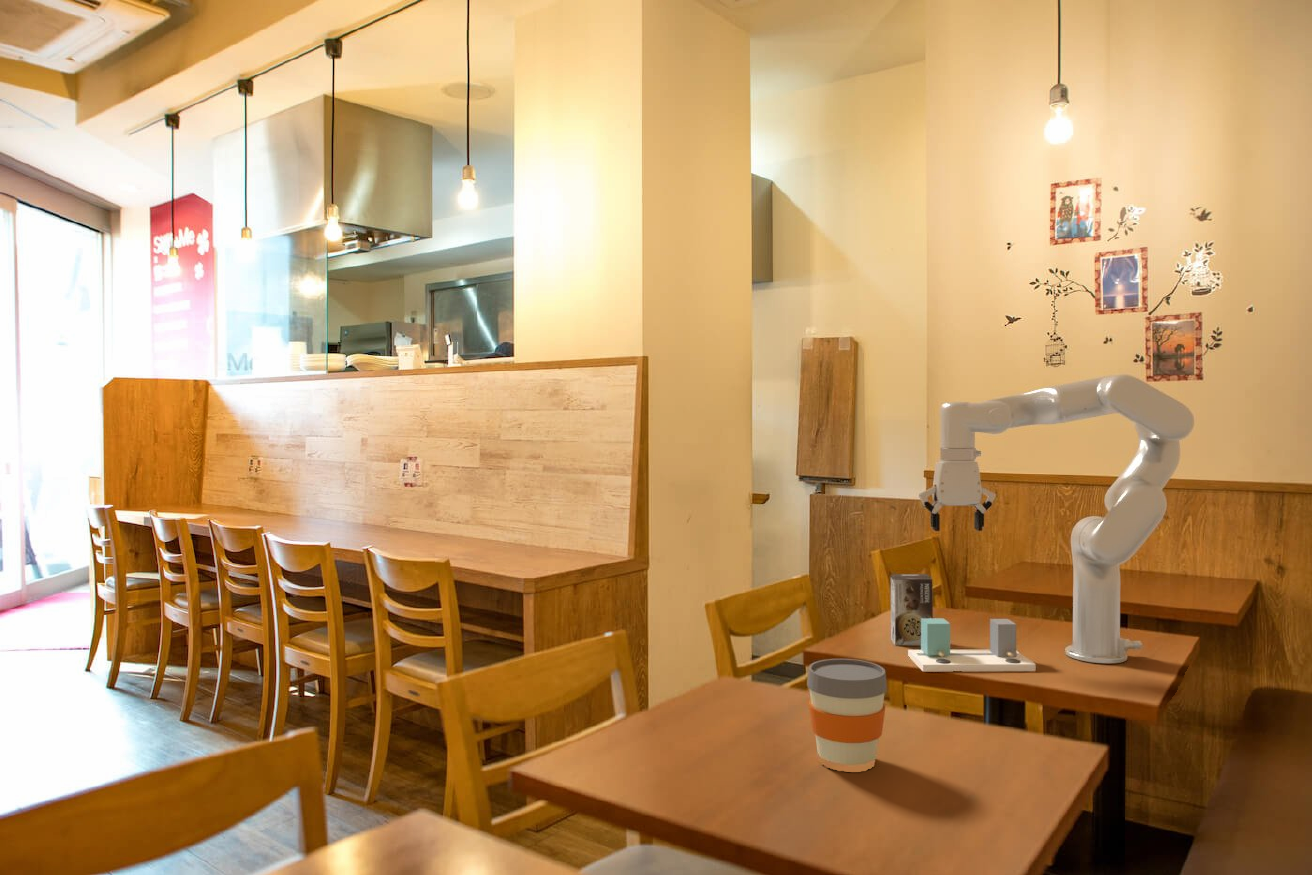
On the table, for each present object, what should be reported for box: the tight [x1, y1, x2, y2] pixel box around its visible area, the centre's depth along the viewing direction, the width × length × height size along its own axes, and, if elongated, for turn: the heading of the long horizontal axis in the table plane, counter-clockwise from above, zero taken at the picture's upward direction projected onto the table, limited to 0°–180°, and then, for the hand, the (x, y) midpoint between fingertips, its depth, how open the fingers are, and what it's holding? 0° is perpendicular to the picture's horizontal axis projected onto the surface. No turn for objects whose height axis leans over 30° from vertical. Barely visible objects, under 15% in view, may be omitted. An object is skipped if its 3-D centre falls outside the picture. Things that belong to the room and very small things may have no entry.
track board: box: [907, 618, 1037, 673], centre depth 199 cm, size 24×12×9 cm, turn 89°
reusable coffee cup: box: [806, 658, 888, 765], centre depth 145 cm, size 13×13×15 cm
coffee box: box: [890, 573, 934, 647], centre depth 217 cm, size 9×6×16 cm
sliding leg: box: [920, 617, 951, 657], centre depth 200 cm, size 5×8×7 cm, turn 179°
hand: (957, 530), depth 208 cm, fingers open, 9 cm apart
